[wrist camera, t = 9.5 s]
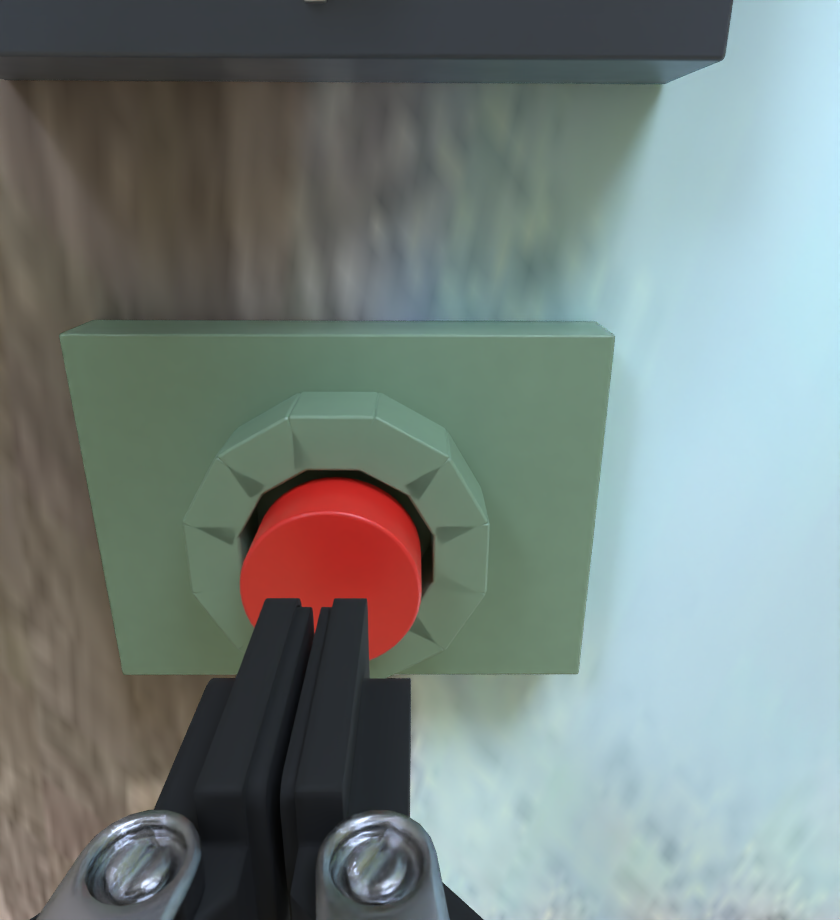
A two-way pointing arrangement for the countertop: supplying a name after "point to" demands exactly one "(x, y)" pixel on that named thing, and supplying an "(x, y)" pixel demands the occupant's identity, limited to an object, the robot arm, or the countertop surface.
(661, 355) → the countertop surface
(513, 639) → the button block
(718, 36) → the dial panel
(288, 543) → the button
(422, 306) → the countertop surface
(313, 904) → the robot arm
